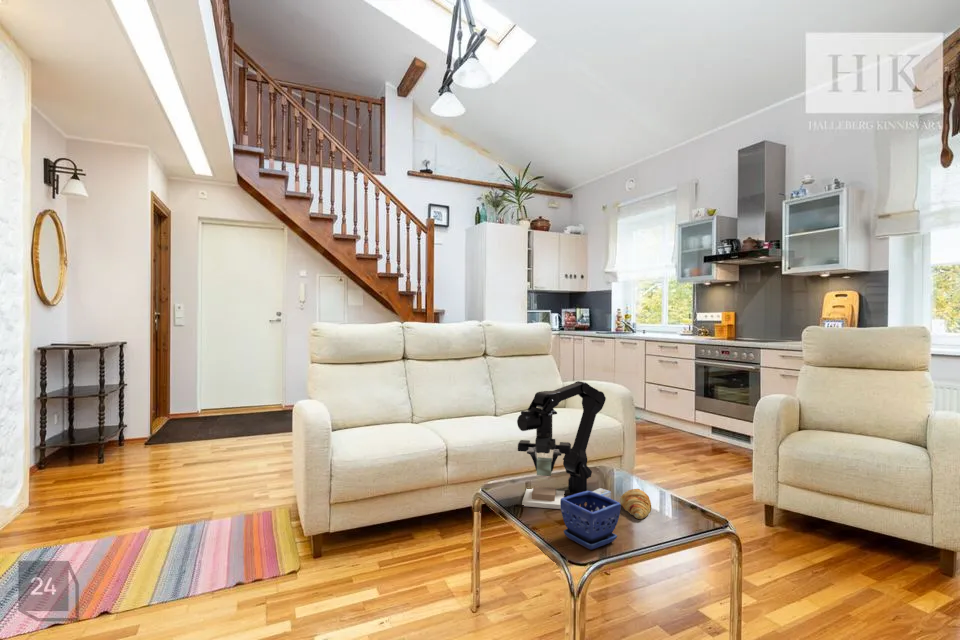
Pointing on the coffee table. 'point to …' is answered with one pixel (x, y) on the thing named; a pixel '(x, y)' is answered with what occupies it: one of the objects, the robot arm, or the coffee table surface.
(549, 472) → the sage cube
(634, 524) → the coffee table surface
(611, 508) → the flower pot
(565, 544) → the coffee table surface
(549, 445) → the robot arm
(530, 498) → the baseboard
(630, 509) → the croissant
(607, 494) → the medicine box
